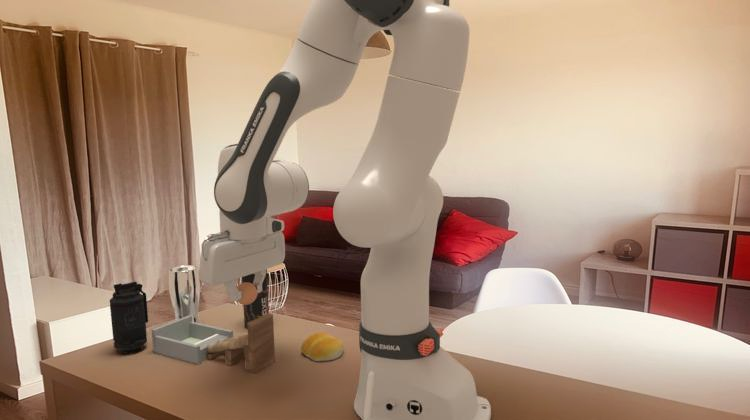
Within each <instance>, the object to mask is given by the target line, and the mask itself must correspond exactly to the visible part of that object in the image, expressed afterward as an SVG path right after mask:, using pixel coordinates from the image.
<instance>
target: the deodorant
mask: <svg viewBox="0 0 750 420" xmlns="http://www.w3.org/2000/svg"><path fill="white" fill-rule="evenodd" d="M254 278H255V274H254V273H253V274H250V275H247V276H244V277H241V283H244V282H249V283H251V284H252V283H253V282H254ZM269 305H270V304H269V287H268V270H267V269H266V275H265V278H264V280H263V283H262V291H261V292H259V293H257V297H256V299H255V301H254V302H252V303H251V304H248V305H243V304H242V306H243V318H244V319H243V320H244V329H246V330H248V327H247V323H248V322H250V321H252V320H255V319H257V318H259V317H261V316H263V315H266V314H268V313H269V314H270V311H269V310H270V307H269Z"/></svg>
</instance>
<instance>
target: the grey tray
mask: <svg viewBox="0 0 750 420" xmlns="http://www.w3.org/2000/svg"><path fill="white" fill-rule="evenodd" d="M232 337H234V330H231V329H227V328H222V327H217V326H214V325H210V324H204V323H201V322H200V323H196V322H193V321H192V316H190V315H189V316H186V317H183V318H181V319H178V320H175V319H174V320H173V321H171V322H168V323H166V324H163V325H160V326H158V327H155V328H152V329H151V340H152V342H151V343H152V352H153V353H156V354H159V355H163V356H166V357H170V358H174V359H177V360H181V361H185V362H189V363H191V364H194V365H195V364H196V365H199V364H201V363H202V362H203V361H205V360H208V359H207V358H206V354H208V352H207V351H206V348H207V346H208V345H210V344H215V343H217V341H218V340H221V339H226V338H232Z"/></svg>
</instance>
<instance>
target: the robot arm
mask: <svg viewBox="0 0 750 420" xmlns="http://www.w3.org/2000/svg"><path fill="white" fill-rule="evenodd" d="M380 31H383V32H384V34H385V35H386V36H387V35H388V36H392V38H393V54H392V59H391V63H390V67H389V70H388V75H387V79H386V84H385V87H384V91H383V96H382V101H381V104H380V109H379V113H378V116H377V120H376V122H375V123H376V124H375V127H374V129H373V132H372V134H371V136H370V138H369V141H368V144H367V145H366V148H365V150H364V152H363V154H362V156H361V158H360V159H359V163H358V165H357V167H356V169H355V170H354V173H353V174H352V176H351V177H350V180H348V182H347V183H346V185H344V187H343V188H342V189H341V190H340V191H339V192H338V194H337V195H336V197H335V200H334V203H333V208H332V209H333V211H332V214H333V222H334V224H335V227H336V229H337V231H338V233H339V235H340V236H341V237H342V238H343V239H344V240H345V241H346V242H348V243H349V244H351V245H352V246H356V247H359V248H365V249H367V248H370V252H369V255H368V259H367V262H366V264H365V266H364V268H363V270H362V273H361V277H360V309H361V310H360V311H361V312H360V313H361V321H360V322H359V327H358V341H359V343H358V344H359V350H360V354H361V355H360V356H361V357H360V370H359V377H358V385H357V389H356V395H355V398H354V400H353V409H354V411H355V413H356V415H357V416H359V418H361V420H491V418H492V410H491V409H492V407H491V404H490V401H489V400H488V399H487V398H485V397H483V396H479V395H478V394H477V393H478V392H477V388H476V383H475V379H474V376H473V374H472V373H471V371H470V370H468V368H466V367H465V366H464V365H463V364H461V363H460V362H459V361H458V360H456V359H455V358H454V357H453V356H452V355H451V354H449V352H448V351H447V350H445V349H444V348H443V347H441V338H442V336H444V332H443V331H444V328H443V327H441V328H439V330H436V329H435V328H434V326H433V324H432V323H431V321H430V274H431V272H430V271H431V266H432V265H431V264H432V260H433V259H432V258H433V253H434V248H435V243H436V242H435V241H436V236H437V227H438V222H439V217H440V214H441V212H442V209H443V206H444V194H443V191H442V189H441V188H442V187H441V186H440V185H439V183H438V182H437V181H436V179H434V178H433V177H431V176H430V173H431V171H432V169H433V167H434V165H435V163H436V161H437V159H438V158H439V155H440V154H441V152H442V151H443V150H444V148H445V146H446V144H447V142H448V138H449V135H450V132H451V128H452V124H453V120H454V116H455V112H456V110H457V106H458V101H459V98H460V95H461V91H462V86H463V82H464V77H465V75H466V74H465V72H466V67H467V61H468V54H469V46H470V45H469V44H470V26H469V23H468V21H467V19H466V18H465V16H463V15H462V14H461V13H460V12H459V11H457V10H456V9H455V8H452V7H451V6H450V0H312V1H311V3H310V4H309V6H308V9H307V10H306V13H305V14H304V17H303V19H302V22H301V24H300V27H299V29H298V32H297V35H296V38H295V40H294V43H293V44H292V45H293V46H292V49H291V50H290V53H289V54H288V56H287V58H286V60H285V61H284V63H283V65H282V66H281V68H280V70H279V71H278V72H277V73H276V74H275V75H274V76H273V77H272V78H271V79H270V80H269V81H268V83H267V84H266V86H265V87H264V89H263V91H262V93H261V94H260V96H259V98H258V101H257V103H256V104H255V107H254V109H253V111H252V113H251V115H250V117H249V119H248V122H247V123H246V125H245V127H244V130H243V131H242V134H241V136H240V139H239V141H238V143H235V144H229V145H227V146H225V147H223V148H222V149H221V151H220V153H219V158H218V164H217V176H216V178H215V182H214V186H213V198H214V201H215V204H216V205H217V207H218V209H219V211H218V212H219V232H217V233H211V234H208V235H207V236H206V238H205V239H204V240H203V242H202V243H201V246H200V248H201V250H200V251H201V252H200V259H199V272H198V273H199V280H200V283H202V284H203V285H206V286H211V287H216V286H219V285H223V284H224V286H225V288H226V289H227V290H228V292H229V300H230V301H232V302H237V301H238V300H240V299H242V296H241V295H242V291H239V290H238V289H237V286H236V285H237V284H238V279H240V278H241V279H242V277H244V276H247V275H250V274H253V273H254V274H255V278H254V282H253V283H252V284H253V285H254V286H255V287H256V289H257V293H259V292H261V291H262V283H263V280H264V278H265V275H266V269H270V268H271V269H272V268H273V267H276V266H279V265H282V264H283V263H284V261H285V258H286V244H285V243H286V242H285V235H284V233H283V231H284V230H285V222H284V220H281V219H277V218H273V216H279V215H281V214H285V213H286V214H287V213H290V212H294V211H297V210H298V209H300V208H301V207H302V206H304V205H305V203H306V201H307V200H308V197H309V193H310V185H309V184H310V183H309V179H308V176H307V174H306V172H305V171H304V169H303V168H302V167H301V166H300V165H299V164H297V163H295V162H290V161H287V160H284V159H282V158H279V157H278V156H276V155H277V153H278V151H279V148H280V147H281V145H282V142H283V140H284V138H285V136H286V134H287V132H288V131H289V129H290V128H291V126H292V125H293V124H295V123H296V122H297V121H298V120H299V119H300V118H301V119H302V117H304V116H305V115H307V114H309V113H311V112H313V111H315V110H317V109H320V108H323V107H326V106H329V105H331V104H333V103H335V102H337V101H338V100H340V99H341V98H342V97H343V96H344V94H345V93H346V91H347V90H348V89H349V87H350V85H351V83H352V81H353V79H354V77H355V75H356V73H357V70H358V67H359V64H360V62H361V59H362V56H363V53H364V52H365V48H366V46H367V44H368V41H370V39H371V38H372V37H373V36H374V35H375V34H376V33H378V32H380Z"/></svg>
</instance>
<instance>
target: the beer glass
mask: <svg viewBox="0 0 750 420" xmlns="http://www.w3.org/2000/svg"><path fill="white" fill-rule="evenodd" d="M199 273H200V272H199V267H198V266H197V265H193V264H191V265H190V264H188V265H187V264H186V265H179V266H173V267H171V268H169V269H168V292H169V297H170V301H171V305H172V308H173V309H172V310H173V313H174V321H175V320H178V319H181V318H183V317H186V316H189V315H190V316H192V321H193V322H196V323H200V324H201V322H200V321H201V320H200V317H199V304H200V297H201V296H200V295H201V280H200V274H199Z"/></svg>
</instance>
